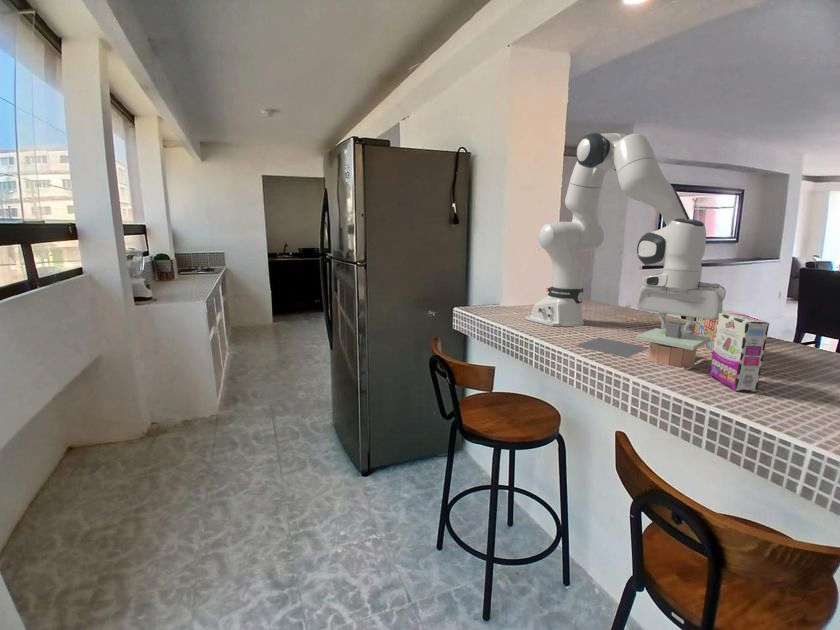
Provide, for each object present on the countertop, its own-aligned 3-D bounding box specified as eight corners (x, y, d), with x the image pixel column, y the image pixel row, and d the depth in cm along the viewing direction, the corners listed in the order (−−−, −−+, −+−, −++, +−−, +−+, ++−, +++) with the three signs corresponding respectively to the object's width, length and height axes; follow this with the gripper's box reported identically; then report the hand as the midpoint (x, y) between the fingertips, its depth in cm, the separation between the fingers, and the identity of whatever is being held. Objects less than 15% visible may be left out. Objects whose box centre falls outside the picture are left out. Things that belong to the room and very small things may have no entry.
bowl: (641, 361, 119) (643, 342, 118) (656, 354, 126) (659, 336, 125) (685, 371, 111) (688, 351, 110) (699, 362, 118) (701, 343, 117)
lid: (635, 338, 118) (637, 323, 117) (655, 331, 127) (657, 316, 126) (692, 350, 107) (695, 333, 106) (710, 341, 116) (712, 325, 116)
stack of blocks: (692, 340, 143) (697, 304, 140) (713, 341, 142) (718, 305, 139) (725, 359, 122) (731, 317, 120) (749, 360, 121) (756, 318, 119)
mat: (574, 347, 132) (574, 345, 132) (599, 339, 143) (599, 337, 142) (626, 359, 120) (626, 357, 120) (649, 349, 131) (649, 347, 131)
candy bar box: (758, 392, 96) (771, 322, 93) (735, 391, 97) (746, 321, 94) (728, 376, 107) (739, 312, 104) (707, 375, 108) (717, 312, 104)
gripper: (730, 283, 108) (722, 336, 111) (646, 276, 123) (640, 322, 126) (723, 285, 104) (714, 340, 107) (637, 277, 119) (631, 325, 122)
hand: (674, 330), depth 117 cm, fingers open, 3 cm apart
